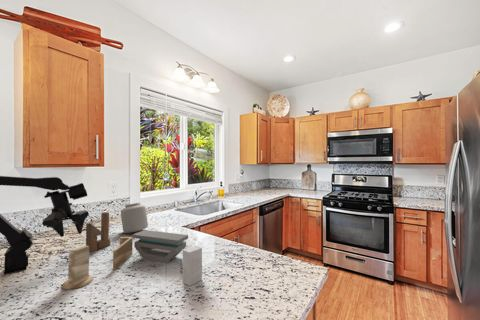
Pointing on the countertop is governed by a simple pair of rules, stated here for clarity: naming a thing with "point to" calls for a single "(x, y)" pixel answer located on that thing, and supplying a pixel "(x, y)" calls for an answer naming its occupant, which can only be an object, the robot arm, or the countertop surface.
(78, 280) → the pale wood block
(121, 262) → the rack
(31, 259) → the countertop surface
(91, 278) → the coaster
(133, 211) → the jar
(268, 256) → the countertop surface
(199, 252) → the skincare box
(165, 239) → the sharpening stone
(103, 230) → the wooden block
